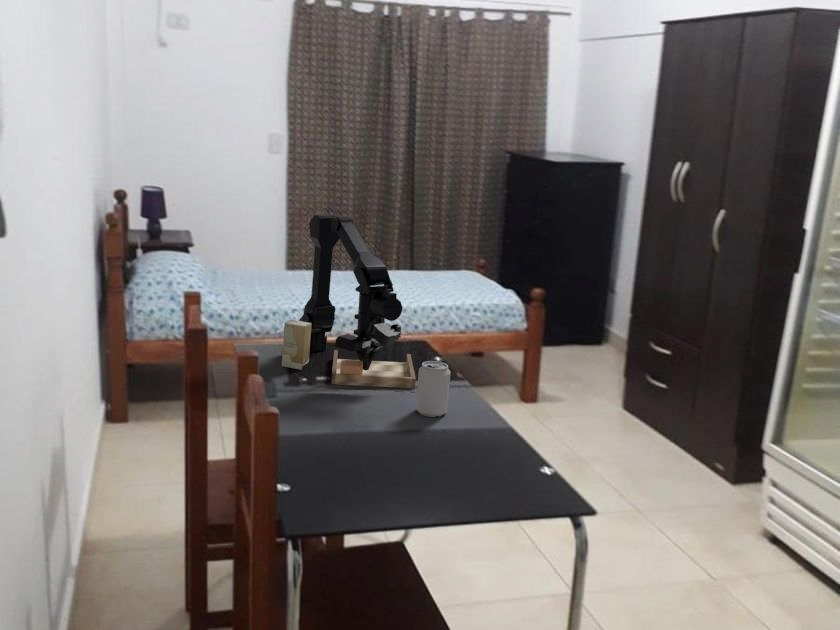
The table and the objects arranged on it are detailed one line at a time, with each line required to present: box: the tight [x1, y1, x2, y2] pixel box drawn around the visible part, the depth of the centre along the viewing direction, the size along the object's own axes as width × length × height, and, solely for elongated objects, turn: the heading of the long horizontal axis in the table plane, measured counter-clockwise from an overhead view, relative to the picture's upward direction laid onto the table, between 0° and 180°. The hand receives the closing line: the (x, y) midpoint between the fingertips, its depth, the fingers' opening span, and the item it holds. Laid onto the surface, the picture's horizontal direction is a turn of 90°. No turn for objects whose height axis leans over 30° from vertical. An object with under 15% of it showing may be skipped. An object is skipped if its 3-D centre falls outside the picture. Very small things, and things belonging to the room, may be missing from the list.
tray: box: [330, 349, 417, 393], centre depth 225 cm, size 21×22×4 cm
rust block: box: [340, 359, 363, 375], centre depth 217 cm, size 6×6×4 cm
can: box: [415, 360, 451, 418], centre depth 201 cm, size 8×8×12 cm
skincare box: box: [281, 319, 312, 371], centre depth 228 cm, size 6×4×12 cm
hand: (365, 370), depth 222 cm, fingers closed
